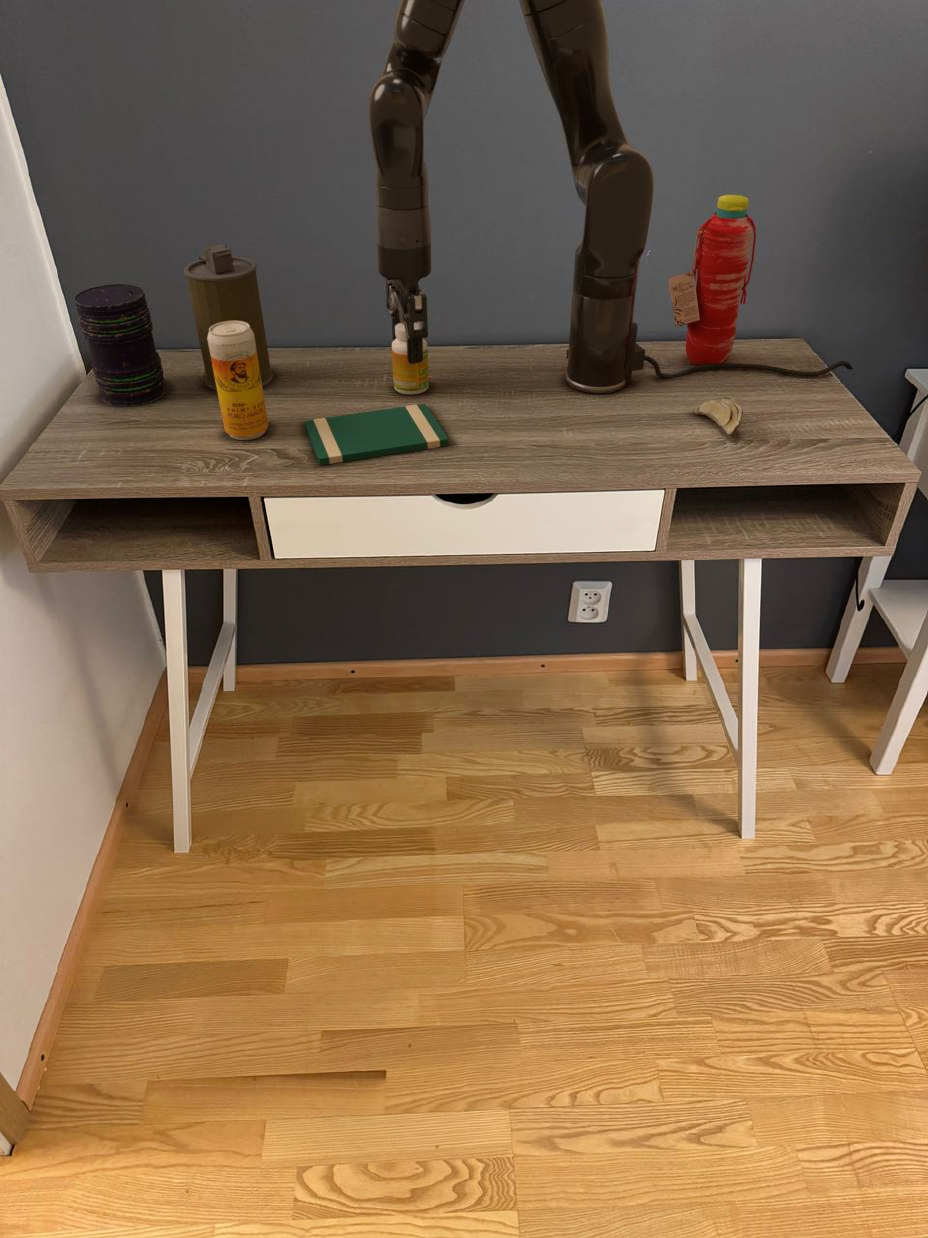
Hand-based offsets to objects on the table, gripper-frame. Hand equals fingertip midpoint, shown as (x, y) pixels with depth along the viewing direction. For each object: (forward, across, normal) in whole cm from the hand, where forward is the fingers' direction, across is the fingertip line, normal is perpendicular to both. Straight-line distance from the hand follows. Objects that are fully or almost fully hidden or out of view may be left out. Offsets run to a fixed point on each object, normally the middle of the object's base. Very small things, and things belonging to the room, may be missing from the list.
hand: (407, 351), depth 133 cm
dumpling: (+5, -27, -38) cm, 47 cm away
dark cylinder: (+7, +12, +40) cm, 43 cm away
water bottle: (+5, -5, -47) cm, 48 cm away
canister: (+6, +12, +24) cm, 28 cm away
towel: (+6, -14, +9) cm, 17 cm away
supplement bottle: (+6, 0, 0) cm, 6 cm away
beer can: (+6, -7, +26) cm, 27 cm away
